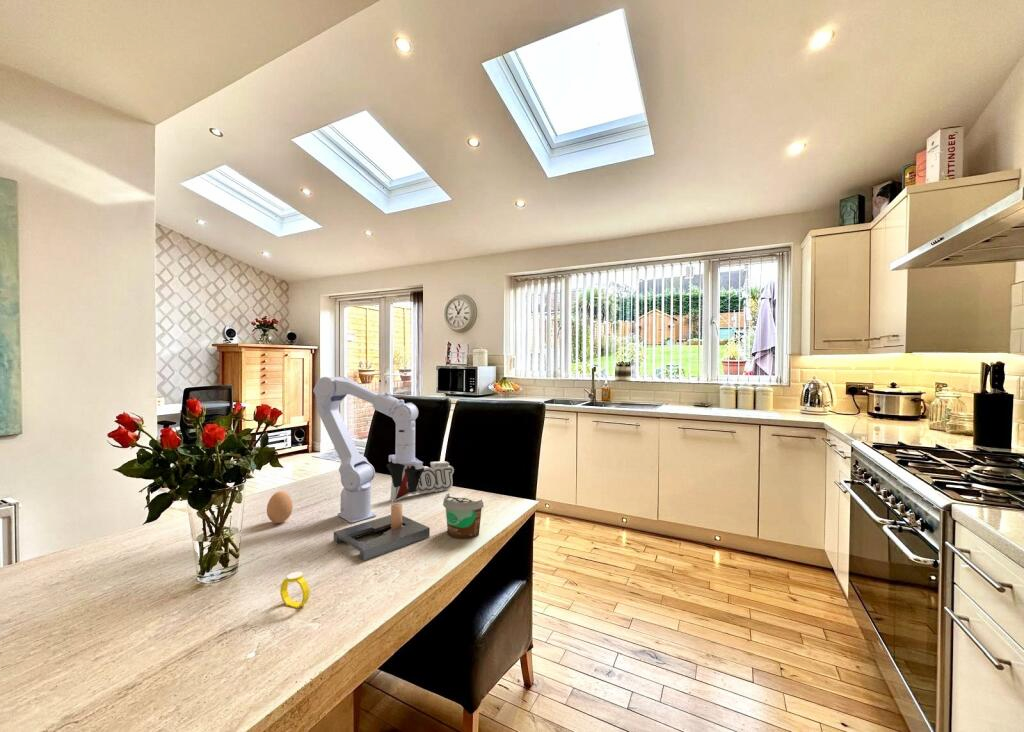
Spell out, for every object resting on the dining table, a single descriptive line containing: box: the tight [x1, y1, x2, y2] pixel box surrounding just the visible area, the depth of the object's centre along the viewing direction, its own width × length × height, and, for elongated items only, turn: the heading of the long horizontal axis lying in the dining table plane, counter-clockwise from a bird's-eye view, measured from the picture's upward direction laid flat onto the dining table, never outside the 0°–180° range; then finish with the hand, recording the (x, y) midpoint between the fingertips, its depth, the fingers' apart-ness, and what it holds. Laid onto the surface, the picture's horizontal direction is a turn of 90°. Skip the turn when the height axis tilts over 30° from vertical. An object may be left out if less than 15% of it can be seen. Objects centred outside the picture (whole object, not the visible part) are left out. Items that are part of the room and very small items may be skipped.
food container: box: [442, 492, 485, 540], centre depth 113 cm, size 12×6×10 cm, turn 62°
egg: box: [266, 490, 294, 524], centre depth 120 cm, size 7×7×9 cm
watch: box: [279, 571, 310, 609], centre depth 79 cm, size 6×3×6 cm, turn 71°
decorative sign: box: [389, 460, 455, 502], centre depth 149 cm, size 23×3×15 cm, turn 130°
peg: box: [387, 503, 403, 531], centre depth 113 cm, size 5×5×8 cm
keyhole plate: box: [333, 514, 431, 562], centre depth 110 cm, size 16×19×2 cm
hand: (404, 489), depth 123 cm, fingers open, 7 cm apart
